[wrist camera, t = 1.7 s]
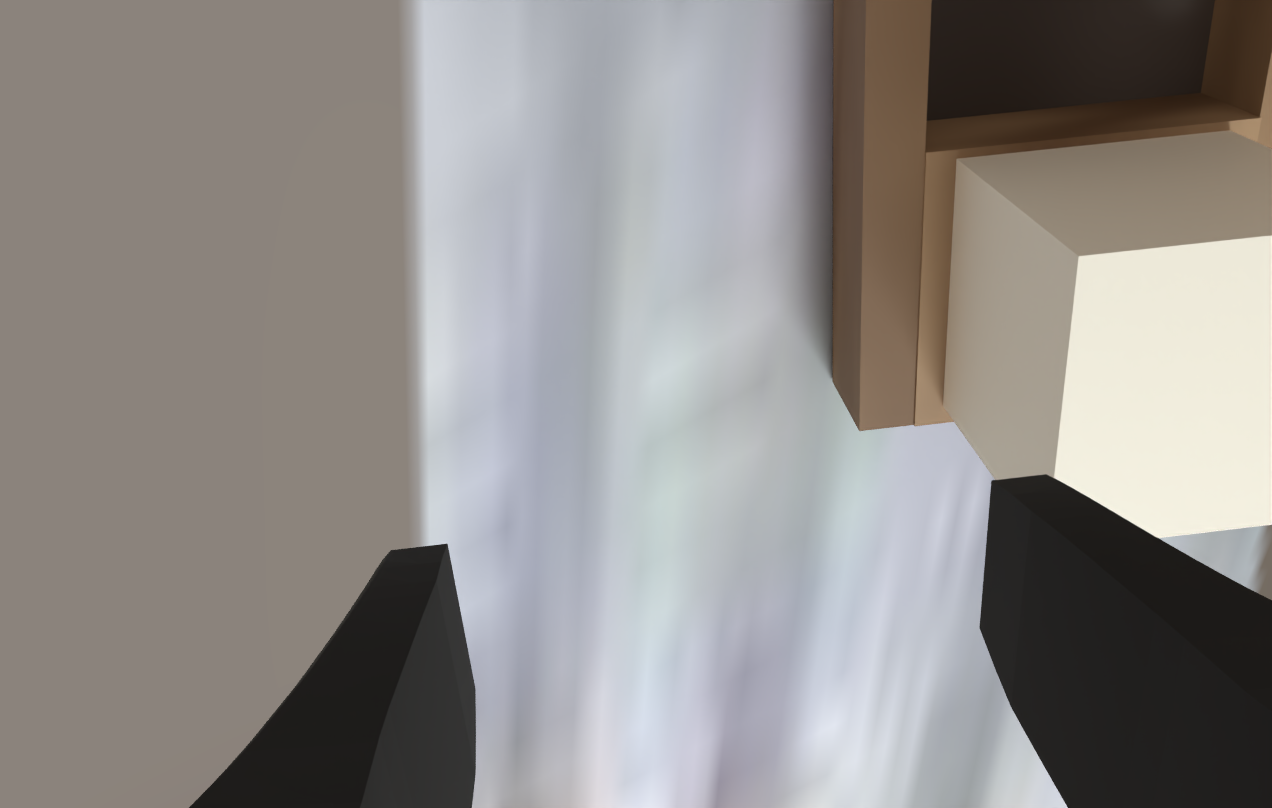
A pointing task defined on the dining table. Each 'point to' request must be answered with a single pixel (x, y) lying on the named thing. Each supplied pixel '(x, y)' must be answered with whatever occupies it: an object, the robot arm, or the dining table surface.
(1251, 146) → the cream block
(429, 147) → the dining table surface
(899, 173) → the trap board
